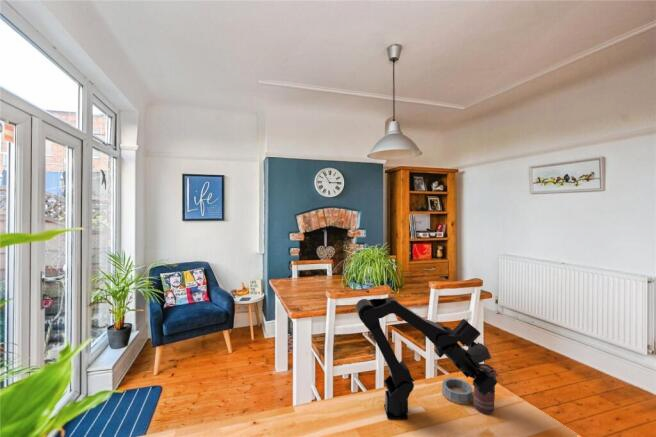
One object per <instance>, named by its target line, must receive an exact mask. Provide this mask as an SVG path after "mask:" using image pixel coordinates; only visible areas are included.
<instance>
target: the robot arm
mask: <svg viewBox="0 0 656 437" xmlns="http://www.w3.org/2000/svg"><path fill="white" fill-rule="evenodd" d="M355 311H356V314H357V316H358V317H359V320H360V321H361V322H362V323H363V325H364V326H365V327H366V328H367V329H368V331H369V332H370V333H371V335H372V337H373V339H374V341H375V343H376V344H377V347H378V349H379V350H380V352H381V355H382V357H383V358H384V360H385V362H386V365H387V368H388V372H389V375H388V376H387V377H386V378H385V379H384V380H383V383H384V386H385V387H386V390H385V391H384V392H385V393H384V396H385V397H384V398H385V400H384V402H385V403H384V404H383V407H384V411H385V415H386V417H387V419H388V420H408V413H409V397H410V395H411V393H412V392H413V390H414V388H415V383H414V382H415V379H414V377H413V375H412V374H411V372H410V369H409V368H408V366H407V364H406V363H405V361H404V360H403V359H402V360H401V361H399V359H398V358H397V355H396V354H395V352H394V350H393V348H392V346H391V344H390V343H389V340H388V339H387V337H386V335H385V332H384V331H383V328H382V327H381V322H380V319H383V318H384V317H386V316H389V315H391V314H393V315H395V316H396V317H398V318H400V319H401V320H403V321H404V322H405V323H407V324H409V325H410V326H412V327H413V328H415V329H417V330H418V331H419V332H420V333H422V334H423V336H425V337H426V339H428V340H429V341H430V342H431V343H432V344H433V345H434V347H435V349H434V353H435V354H436V355H437V356H438V357H439V358H442V357H443V356H445V357H446V358H447V359H448V360H450V362H452V364H453V365H454V366H455V367H456V368H457V369H458V370H459V371H460V372H461V373H462V374H463V375H464V376H465V377H466V378H471V379H472V385H473V388H474V387H475V388H476V389H477V390H478V391H479V392H480V393H481V394H482V395H486V394H487V393H488V392H490V393H494V392H495V393H496V389H495V390H494V388H493V387H494V386H495V387H496V386H497V384H498V380H497V378H496V379H495V378H494V377H493V376H492V375H491V374H490V373H489V372H488V371H480V370H479V369H478V368H479V367H480V366H481V365H480V364H482V363H483V362H485V361H487V360H491V359H492V356H491V354H490V350H489V348H488V347H486V346H485V344H483V343H480V342H476V340H477V339H478V338H479V337H480V335H482V334H481V332H480V331H479V330H478V329H477V328H476V327H475V326H473V325H472V324H470V322H468V321H467V320H466V319H465V318H462V320H461V321H460V322H459V323H458V324H457V326H455V327H454V329H452V328H451V327H449V326H443V325H441V324H439V323H438V322H435V321H432V320H430V319H426V318H423V317H422V316H420V315H418V314H417V312H414V311H412V310H411V309H409V308H408V307H406V306H405V305H404V304H402V303H400V302H399V301H398V300H396V298H394V297H391V296H389V297H384V298H371V299H367V298H362V299H360V300H358V301H357V303H356V304H355ZM460 344H461V345H462V346H463V347H462V346H461V345H460ZM465 346H466V347H467V349H465V348H464V347H465ZM476 371H477V372H478V373H479V374H478V373H477V372H476ZM474 376H476V378H475V379H474Z"/></svg>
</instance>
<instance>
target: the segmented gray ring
mask: <svg viewBox="0 0 656 437" xmlns="http://www.w3.org/2000/svg"><path fill="white" fill-rule="evenodd" d="M441 387H442V388H441V394H442V396H443V397H444V399H446V400H447V401H449V402H451V403H453V404H456V405H460V406H461V405H464V406H465V405H469V404H471V403H472V402H473V401H474V394H473V386H472V385H471V384H470V383H469V382H467V381H465V380H462V379H460V378H456V377H448V378H445V379H443V381H442V386H441Z"/></svg>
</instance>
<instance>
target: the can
mask: <svg viewBox="0 0 656 437" xmlns="http://www.w3.org/2000/svg"><path fill="white" fill-rule="evenodd" d="M480 365H481V366H480V367H479V368H478V369H479V370H480V371H488V372H489V373H490V374H491V375H492V376H493V377H494V378H495V379H496V380H497V370H496V369H495V368H494V367H492V366H491V365H488V364H487V363H486V364H485V363H480ZM476 372H477V371H476ZM477 373H478V372H477ZM478 374H479V373H478ZM475 378H476V376H474V379H475ZM474 379H473V380H474ZM493 388H494V390H495V392H494V393H490V392H488V393H487V394H486V395H482V394H481V393H480V392H479V391H478V390H477V389H476V388H475V387H474V386H473V407H474V408H475V410H476V411H477V412H479V413H480V414H484V415H492V414H493V413H494V412H495V400H496V399H495V395H496V385H495V386H494V387H493Z"/></svg>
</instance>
